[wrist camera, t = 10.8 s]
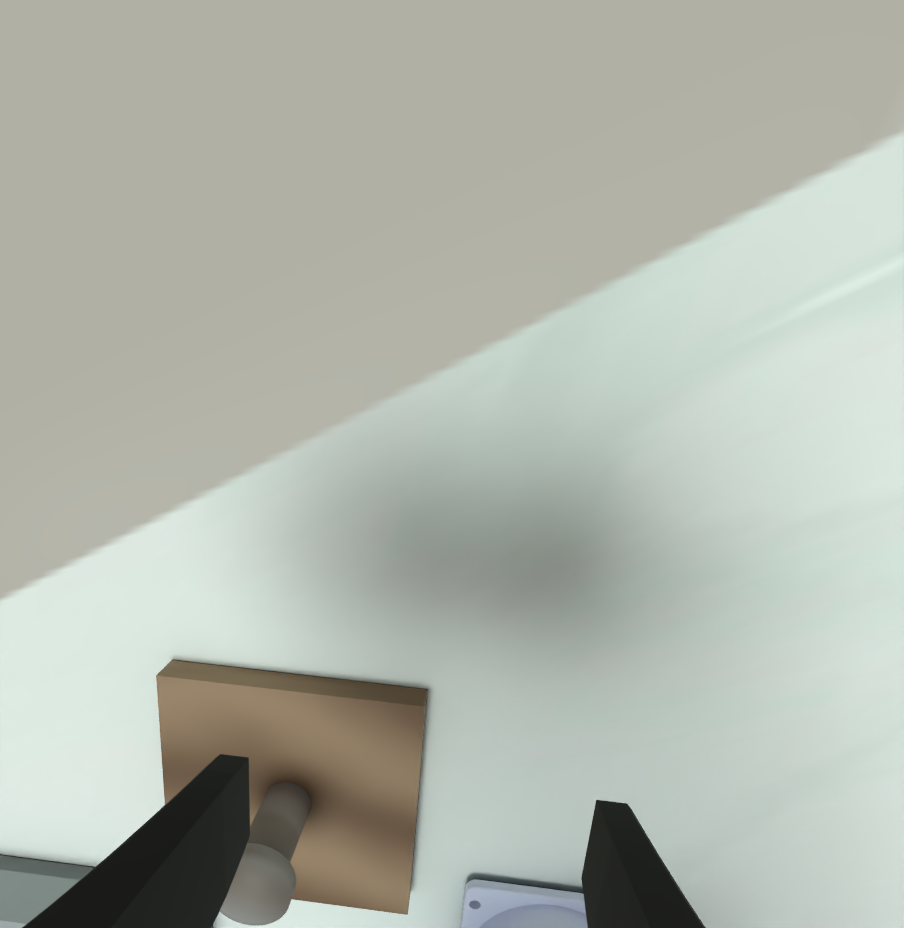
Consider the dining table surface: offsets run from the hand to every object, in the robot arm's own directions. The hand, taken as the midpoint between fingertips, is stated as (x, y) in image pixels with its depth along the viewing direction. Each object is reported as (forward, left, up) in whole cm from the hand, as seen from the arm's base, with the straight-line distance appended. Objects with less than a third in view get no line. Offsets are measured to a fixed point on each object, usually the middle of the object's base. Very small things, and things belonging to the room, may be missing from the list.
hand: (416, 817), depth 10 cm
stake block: (-10, +6, -9) cm, 15 cm away
